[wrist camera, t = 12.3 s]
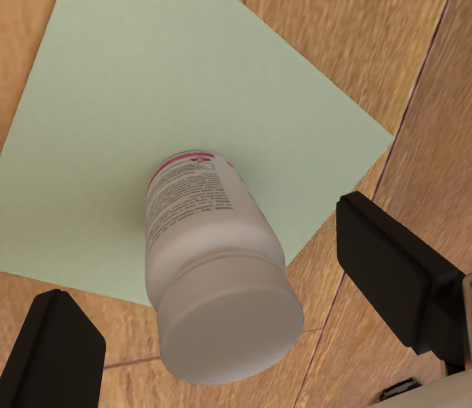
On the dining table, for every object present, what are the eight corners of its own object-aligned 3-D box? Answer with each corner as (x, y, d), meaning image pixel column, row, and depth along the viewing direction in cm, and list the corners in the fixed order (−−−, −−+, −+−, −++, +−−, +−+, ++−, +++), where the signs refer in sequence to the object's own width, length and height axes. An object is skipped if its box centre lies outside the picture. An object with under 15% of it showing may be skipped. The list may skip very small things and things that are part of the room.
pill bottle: (132, 218, 15) (115, 393, 8) (167, 132, 13) (187, 254, 6) (217, 241, 17) (265, 395, 10) (257, 169, 15) (351, 293, 8)
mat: (-33, 253, 14) (-40, 262, 14) (102, -116, 9) (100, -124, 9) (234, 320, 22) (236, 327, 21) (388, 135, 17) (396, 138, 16)
